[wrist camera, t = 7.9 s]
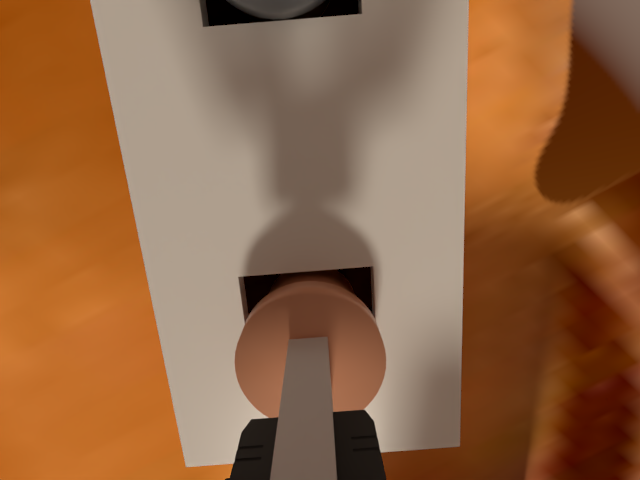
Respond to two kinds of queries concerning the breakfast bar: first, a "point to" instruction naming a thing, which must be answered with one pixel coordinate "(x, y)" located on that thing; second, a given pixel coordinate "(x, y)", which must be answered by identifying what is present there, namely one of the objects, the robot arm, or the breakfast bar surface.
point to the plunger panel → (296, 191)
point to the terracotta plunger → (308, 322)
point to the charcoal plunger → (280, 9)
